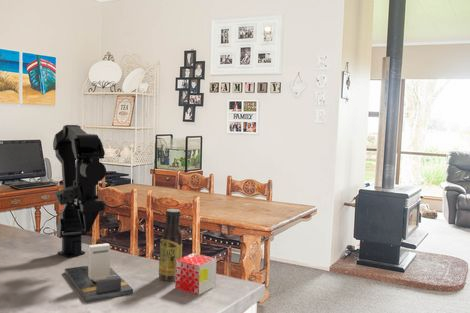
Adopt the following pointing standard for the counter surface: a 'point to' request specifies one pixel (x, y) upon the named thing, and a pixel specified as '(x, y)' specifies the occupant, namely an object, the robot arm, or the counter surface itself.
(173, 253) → the sauce bottle
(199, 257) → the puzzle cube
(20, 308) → the counter surface
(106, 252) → the fader tab
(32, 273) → the counter surface
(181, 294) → the counter surface
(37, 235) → the counter surface
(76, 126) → the robot arm
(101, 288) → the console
